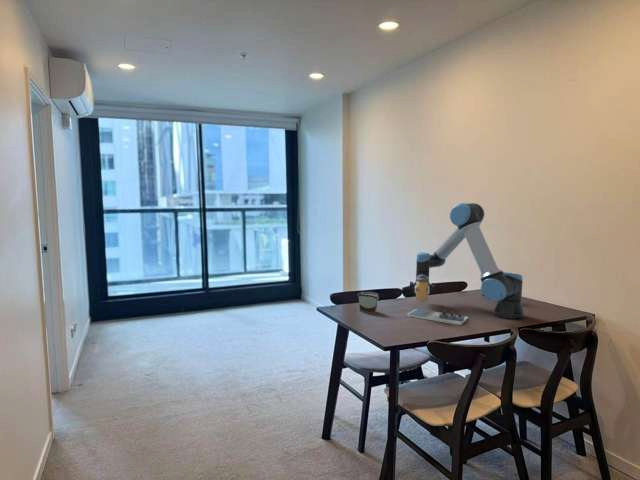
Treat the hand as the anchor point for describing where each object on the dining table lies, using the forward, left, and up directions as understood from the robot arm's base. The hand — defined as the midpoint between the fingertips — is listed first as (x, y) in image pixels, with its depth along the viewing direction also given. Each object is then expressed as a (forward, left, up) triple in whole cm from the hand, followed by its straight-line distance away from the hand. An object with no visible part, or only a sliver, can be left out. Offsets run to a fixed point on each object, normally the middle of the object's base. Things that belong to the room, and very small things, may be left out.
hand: (421, 290), depth 228 cm
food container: (+28, +4, -14) cm, 32 cm away
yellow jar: (+2, -5, -6) cm, 8 cm away
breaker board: (-7, -5, -14) cm, 16 cm away
